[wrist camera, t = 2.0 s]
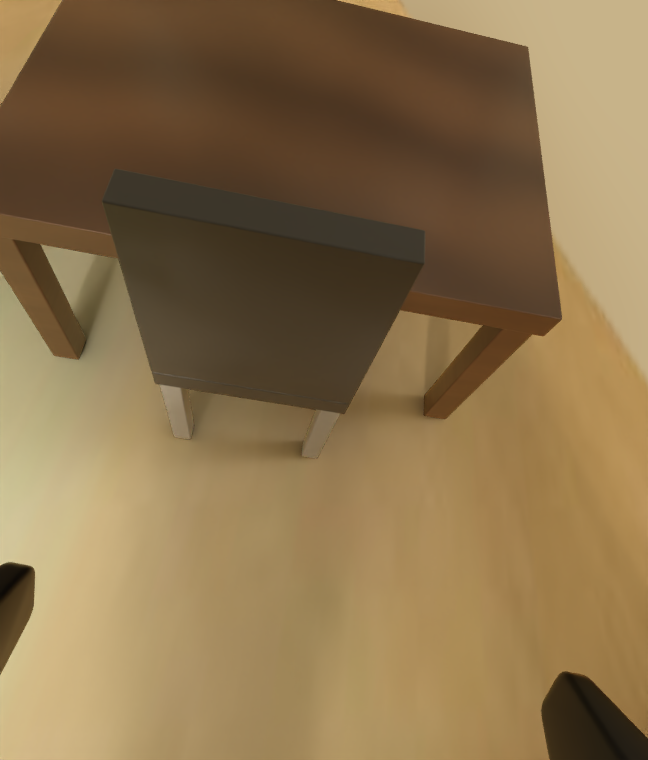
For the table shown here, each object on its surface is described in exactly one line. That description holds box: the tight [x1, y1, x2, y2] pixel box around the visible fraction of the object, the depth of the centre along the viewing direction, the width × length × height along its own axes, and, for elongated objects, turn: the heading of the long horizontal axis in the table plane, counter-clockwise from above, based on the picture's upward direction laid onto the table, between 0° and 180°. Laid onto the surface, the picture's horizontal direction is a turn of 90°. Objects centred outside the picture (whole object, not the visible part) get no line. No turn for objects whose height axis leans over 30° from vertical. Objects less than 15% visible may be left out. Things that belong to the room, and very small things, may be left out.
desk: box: [0, 0, 562, 419], centre depth 25 cm, size 16×20×10 cm
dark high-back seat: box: [102, 169, 425, 458], centre depth 19 cm, size 7×7×15 cm
